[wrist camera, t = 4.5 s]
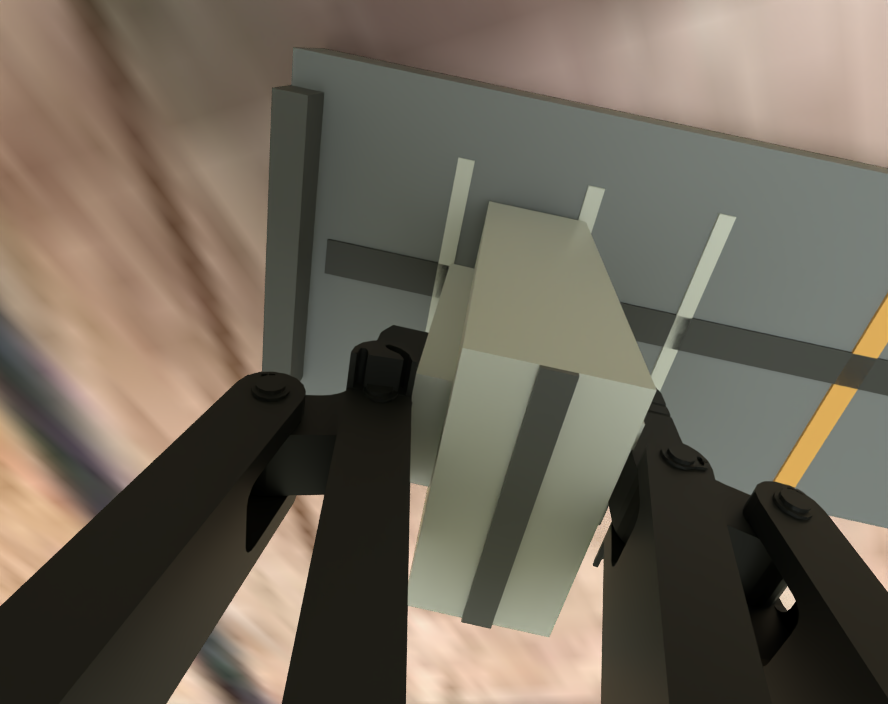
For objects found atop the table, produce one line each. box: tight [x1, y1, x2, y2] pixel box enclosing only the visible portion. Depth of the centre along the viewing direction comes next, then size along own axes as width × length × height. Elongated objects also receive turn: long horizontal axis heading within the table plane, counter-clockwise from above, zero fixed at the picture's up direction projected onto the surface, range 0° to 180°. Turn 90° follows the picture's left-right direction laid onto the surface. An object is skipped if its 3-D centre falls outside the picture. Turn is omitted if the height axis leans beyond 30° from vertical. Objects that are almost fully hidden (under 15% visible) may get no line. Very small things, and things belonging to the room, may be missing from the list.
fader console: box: [262, 47, 888, 528], centre depth 20 cm, size 12×27×4 cm, turn 79°
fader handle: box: [408, 201, 657, 637], centre depth 14 cm, size 6×3×10 cm, turn 169°
